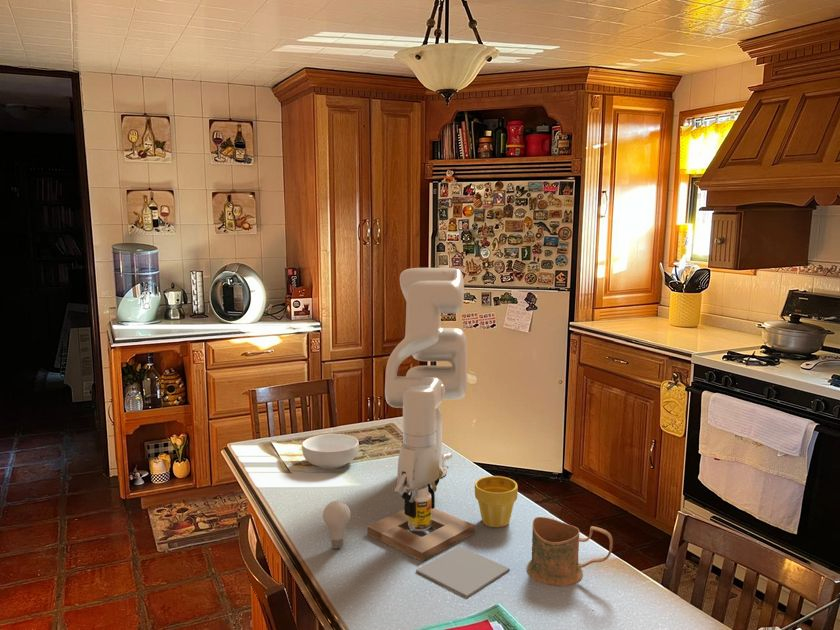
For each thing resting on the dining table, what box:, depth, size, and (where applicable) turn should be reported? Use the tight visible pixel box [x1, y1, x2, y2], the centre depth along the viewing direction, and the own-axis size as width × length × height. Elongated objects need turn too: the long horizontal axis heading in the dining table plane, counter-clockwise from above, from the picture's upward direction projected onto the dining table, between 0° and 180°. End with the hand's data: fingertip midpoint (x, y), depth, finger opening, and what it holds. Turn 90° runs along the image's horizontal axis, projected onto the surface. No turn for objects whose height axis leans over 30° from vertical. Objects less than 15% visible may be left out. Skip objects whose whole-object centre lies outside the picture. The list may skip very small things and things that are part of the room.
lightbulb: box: [322, 500, 351, 550], centre depth 152 cm, size 6×6×11 cm
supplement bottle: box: [408, 485, 432, 532], centre depth 159 cm, size 6×6×10 cm
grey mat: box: [415, 545, 510, 598], centre depth 143 cm, size 14×14×1 cm
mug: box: [526, 516, 614, 587], centre depth 140 cm, size 12×18×12 cm, turn 58°
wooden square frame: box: [366, 507, 476, 562], centre depth 159 cm, size 18×18×2 cm
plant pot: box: [474, 475, 519, 528], centre depth 165 cm, size 10×10×10 cm
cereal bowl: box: [301, 433, 360, 470], centre depth 202 cm, size 17×17×7 cm
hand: (419, 510), depth 159 cm, fingers closed on supplement bottle, 5 cm apart
